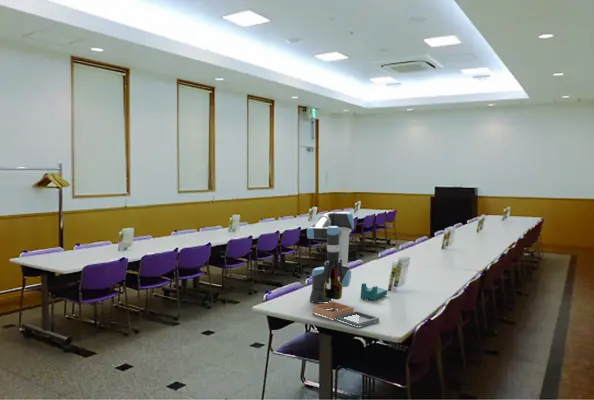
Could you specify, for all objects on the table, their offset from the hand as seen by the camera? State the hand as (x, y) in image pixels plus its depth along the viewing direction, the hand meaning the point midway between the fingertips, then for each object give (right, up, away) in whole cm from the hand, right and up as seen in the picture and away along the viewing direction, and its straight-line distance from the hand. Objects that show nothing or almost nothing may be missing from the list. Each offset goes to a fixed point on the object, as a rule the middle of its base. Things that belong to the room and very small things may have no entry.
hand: (333, 287), depth 297 cm
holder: (0, -17, +1) cm, 17 cm away
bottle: (0, -7, +1) cm, 7 cm away
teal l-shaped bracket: (+32, -15, +43) cm, 56 cm away
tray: (+14, -18, -13) cm, 26 cm away
